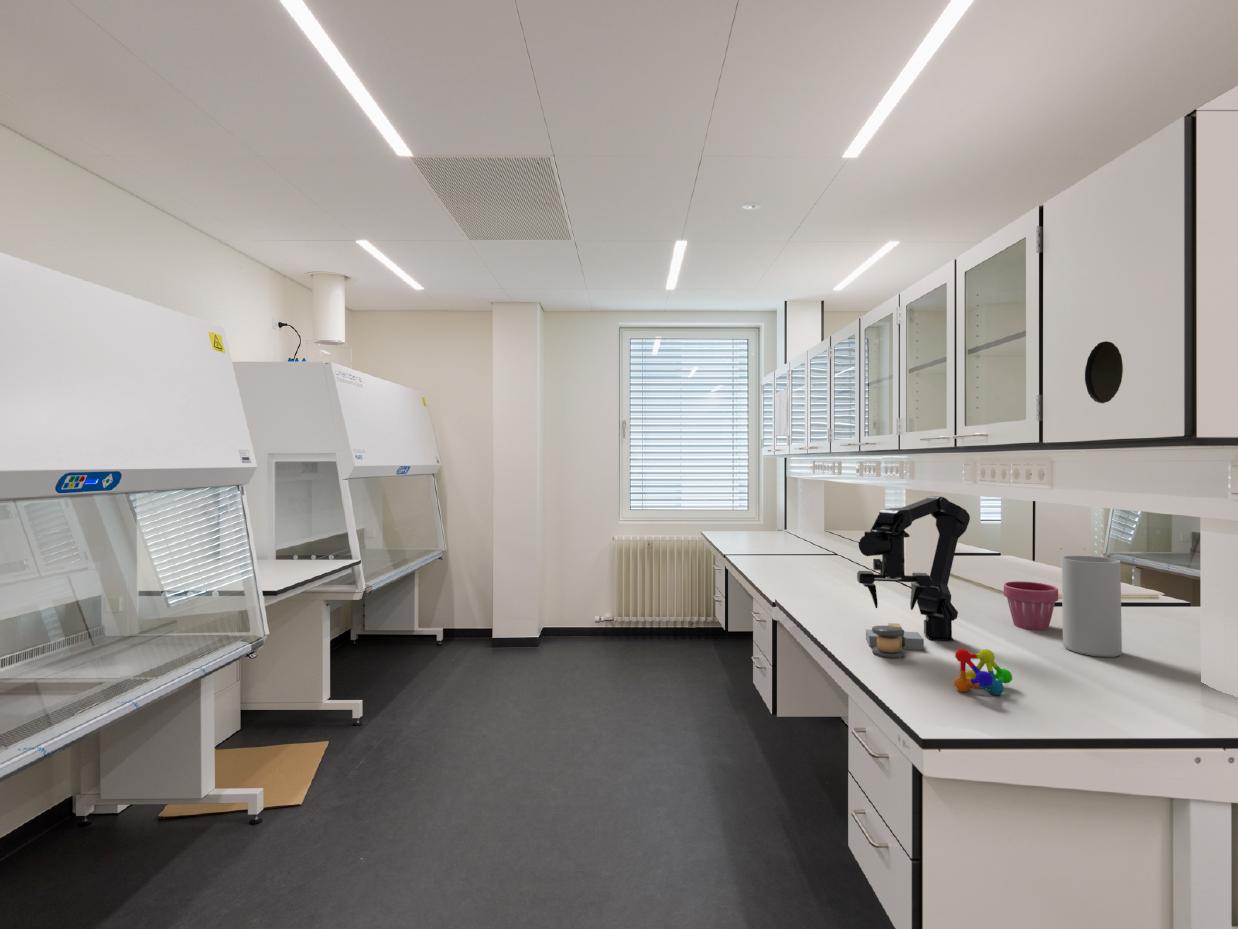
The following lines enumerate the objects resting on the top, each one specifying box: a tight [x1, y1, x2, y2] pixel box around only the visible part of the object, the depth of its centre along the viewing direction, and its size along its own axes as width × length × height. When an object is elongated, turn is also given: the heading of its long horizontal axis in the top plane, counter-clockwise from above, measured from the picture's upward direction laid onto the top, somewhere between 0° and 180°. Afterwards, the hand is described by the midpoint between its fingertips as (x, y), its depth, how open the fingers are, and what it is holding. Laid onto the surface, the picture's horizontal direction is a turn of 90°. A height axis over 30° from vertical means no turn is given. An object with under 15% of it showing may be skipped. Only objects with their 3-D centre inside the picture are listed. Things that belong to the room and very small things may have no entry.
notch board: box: [865, 628, 925, 651], centre depth 168 cm, size 14×7×3 cm, turn 75°
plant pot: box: [1003, 580, 1059, 631], centre depth 185 cm, size 14×14×13 cm
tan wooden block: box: [887, 622, 903, 650], centre depth 166 cm, size 3×4×6 cm
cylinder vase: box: [1061, 555, 1123, 658], centre depth 160 cm, size 12×12×25 cm
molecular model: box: [953, 648, 1013, 696], centre depth 134 cm, size 11×10×15 cm
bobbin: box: [871, 625, 906, 660], centre depth 160 cm, size 8×8×7 cm
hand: (893, 608), depth 166 cm, fingers open, 9 cm apart
